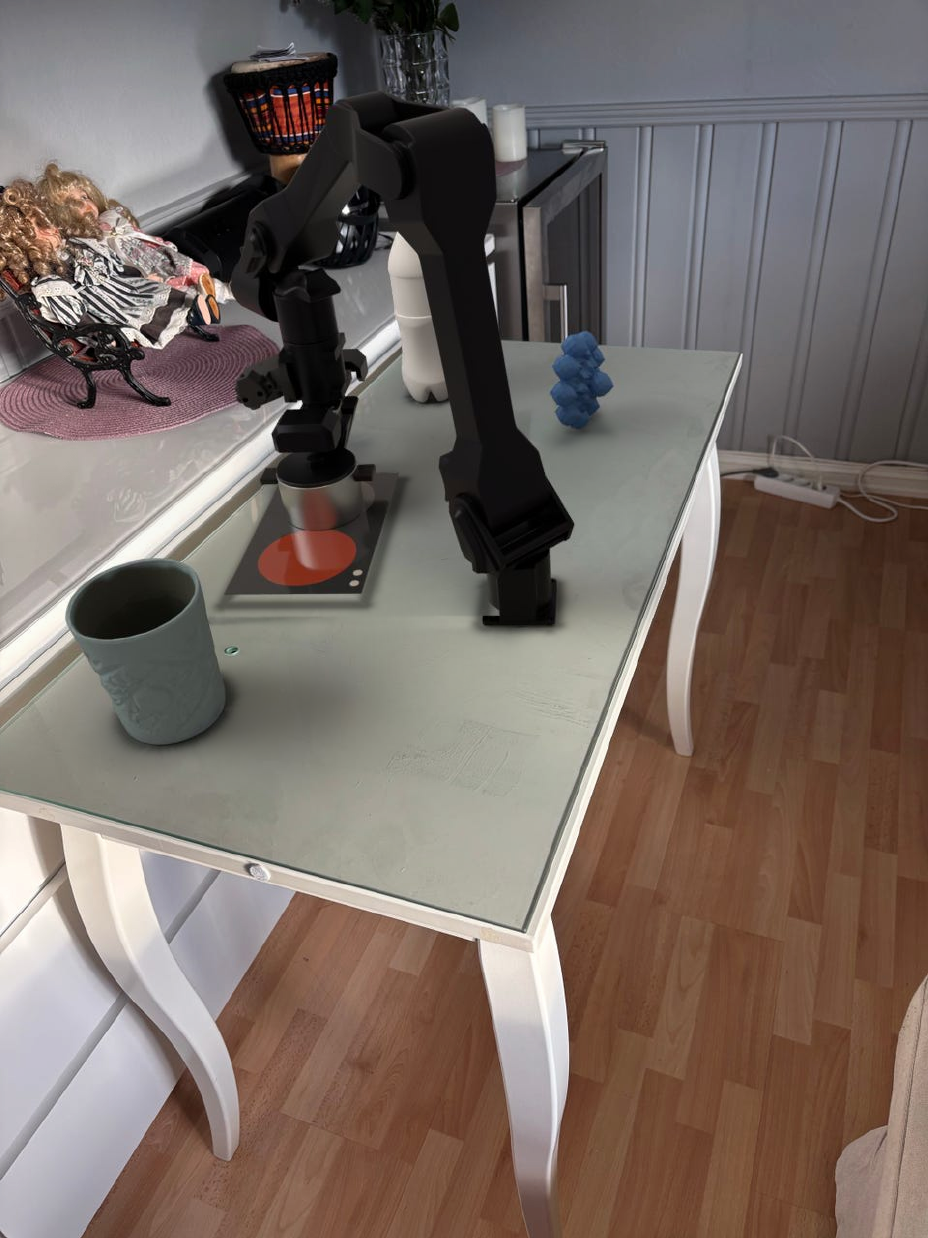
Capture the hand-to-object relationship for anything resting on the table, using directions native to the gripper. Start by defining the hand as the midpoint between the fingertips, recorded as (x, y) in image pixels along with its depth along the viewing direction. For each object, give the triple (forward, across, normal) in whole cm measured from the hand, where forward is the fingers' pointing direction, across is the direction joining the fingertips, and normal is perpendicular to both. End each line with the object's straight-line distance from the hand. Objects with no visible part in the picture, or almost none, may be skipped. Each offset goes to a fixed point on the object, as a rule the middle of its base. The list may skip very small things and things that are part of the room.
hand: (336, 468), depth 101 cm
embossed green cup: (+2, +36, -6) cm, 36 cm away
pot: (+1, +7, 0) cm, 7 cm away
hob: (+2, +10, 0) cm, 11 cm away
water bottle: (+3, -23, +8) cm, 25 cm away
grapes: (+3, -12, +28) cm, 30 cm away
